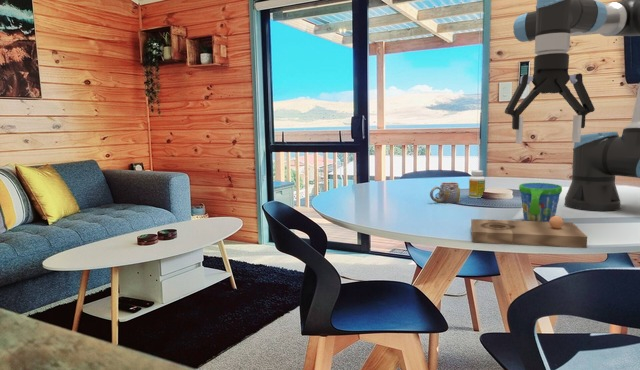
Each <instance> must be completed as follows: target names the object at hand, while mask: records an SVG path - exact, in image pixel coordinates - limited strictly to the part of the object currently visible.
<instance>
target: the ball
mask: <svg viewBox="0 0 640 370" xmlns="http://www.w3.org/2000/svg"><path fill="white" fill-rule="evenodd" d="M563 222H564V219H563V218H562V217H561V216H559V215H555V216H553V217H551V218H550V220H549V224H550V226H551V227H553V228H556V229H557V228H560V227H562V226H563Z"/></svg>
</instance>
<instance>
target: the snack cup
mask: <svg viewBox="0 0 640 370" xmlns="http://www.w3.org/2000/svg"><path fill="white" fill-rule="evenodd" d="M518 189H519V192H520V198H521V199H520V200H521V207H522V214H523V215H522V216H523V220H524V221H542V222H549V220H550V218H551V217H553V216H556V213H557V209H558V204H559V200H560V195H561V193H562V191H563V186H562V185H560V184H554V183H547V182H546V183H545V182H525V183H521V184H519V186H518Z"/></svg>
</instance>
